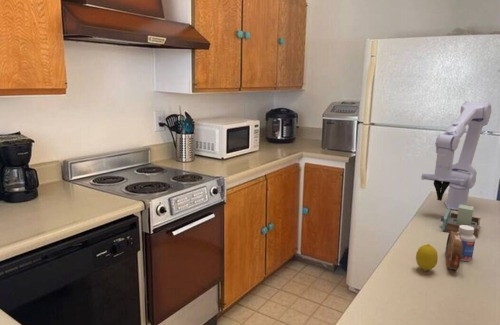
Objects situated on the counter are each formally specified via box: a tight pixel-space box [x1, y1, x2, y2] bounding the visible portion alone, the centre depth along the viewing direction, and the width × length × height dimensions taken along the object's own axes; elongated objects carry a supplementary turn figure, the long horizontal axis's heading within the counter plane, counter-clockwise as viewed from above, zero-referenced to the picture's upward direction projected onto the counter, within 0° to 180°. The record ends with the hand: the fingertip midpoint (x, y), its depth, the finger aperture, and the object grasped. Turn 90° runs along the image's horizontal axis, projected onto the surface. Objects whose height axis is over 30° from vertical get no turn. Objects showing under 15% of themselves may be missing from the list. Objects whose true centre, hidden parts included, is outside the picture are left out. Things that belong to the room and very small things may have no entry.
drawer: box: [440, 207, 477, 231], centre depth 142 cm, size 15×11×4 cm
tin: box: [444, 231, 463, 271], centre depth 115 cm, size 15×3×8 cm, turn 157°
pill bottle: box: [457, 225, 476, 262], centre depth 119 cm, size 6×5×10 cm
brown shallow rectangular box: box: [444, 212, 482, 239], centre depth 142 cm, size 13×10×3 cm
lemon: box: [415, 243, 439, 272], centre depth 110 cm, size 6×6×8 cm
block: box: [456, 204, 474, 226], centre depth 140 cm, size 4×4×7 cm
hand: (439, 199), depth 153 cm, fingers closed
